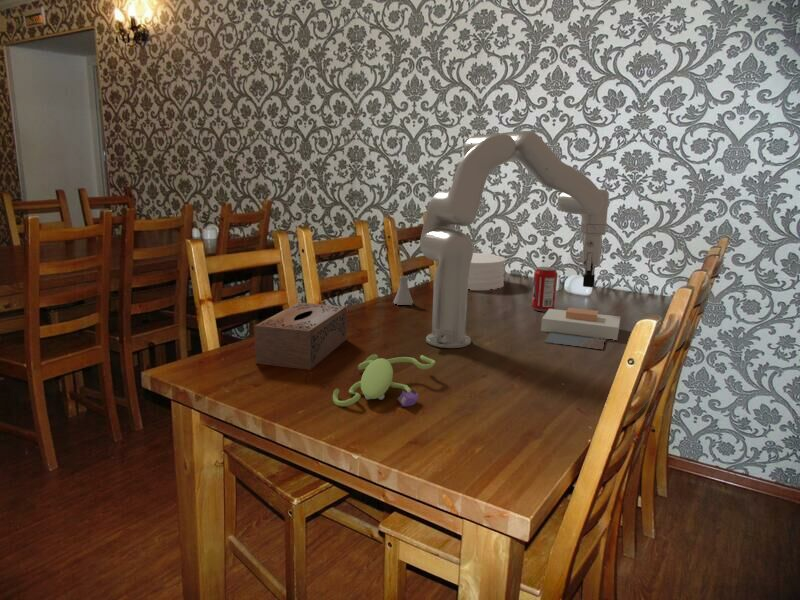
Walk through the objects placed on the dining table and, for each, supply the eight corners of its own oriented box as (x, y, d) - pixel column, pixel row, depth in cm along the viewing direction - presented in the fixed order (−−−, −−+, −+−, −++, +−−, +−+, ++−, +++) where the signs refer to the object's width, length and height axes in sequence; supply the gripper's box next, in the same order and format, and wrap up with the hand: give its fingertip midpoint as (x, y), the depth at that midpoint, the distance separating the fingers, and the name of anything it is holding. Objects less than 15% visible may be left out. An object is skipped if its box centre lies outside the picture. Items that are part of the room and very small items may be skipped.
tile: (596, 321, 172) (596, 315, 172) (565, 318, 175) (566, 311, 175) (597, 317, 177) (598, 310, 177) (568, 313, 181) (568, 307, 180)
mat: (603, 350, 157) (603, 349, 157) (544, 342, 164) (544, 341, 163) (606, 339, 168) (606, 338, 168) (550, 332, 174) (550, 331, 174)
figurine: (438, 373, 138) (439, 352, 137) (412, 419, 113) (413, 392, 112) (366, 365, 143) (366, 344, 141) (325, 407, 117) (325, 381, 116)
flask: (416, 304, 206) (417, 276, 204) (406, 307, 200) (407, 279, 198) (400, 301, 210) (400, 274, 208) (389, 304, 204) (389, 277, 202)
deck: (616, 340, 167) (618, 327, 166) (540, 331, 175) (541, 318, 174) (619, 329, 180) (620, 316, 179) (548, 320, 188) (549, 308, 187)
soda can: (545, 313, 196) (549, 270, 193) (527, 309, 202) (530, 267, 199) (558, 310, 202) (562, 268, 198) (540, 306, 207) (543, 265, 204)
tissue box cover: (309, 370, 138) (309, 331, 135) (255, 364, 141) (254, 325, 139) (346, 340, 162) (346, 306, 160) (299, 335, 166) (298, 302, 163)
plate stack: (434, 288, 234) (435, 260, 231) (441, 276, 261) (442, 251, 258) (504, 292, 230) (505, 264, 227) (503, 279, 256) (505, 254, 254)
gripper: (604, 232, 170) (598, 292, 175) (607, 227, 184) (602, 283, 188) (578, 231, 173) (573, 290, 178) (583, 226, 187) (578, 281, 191)
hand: (588, 286), depth 183 cm, fingers closed
